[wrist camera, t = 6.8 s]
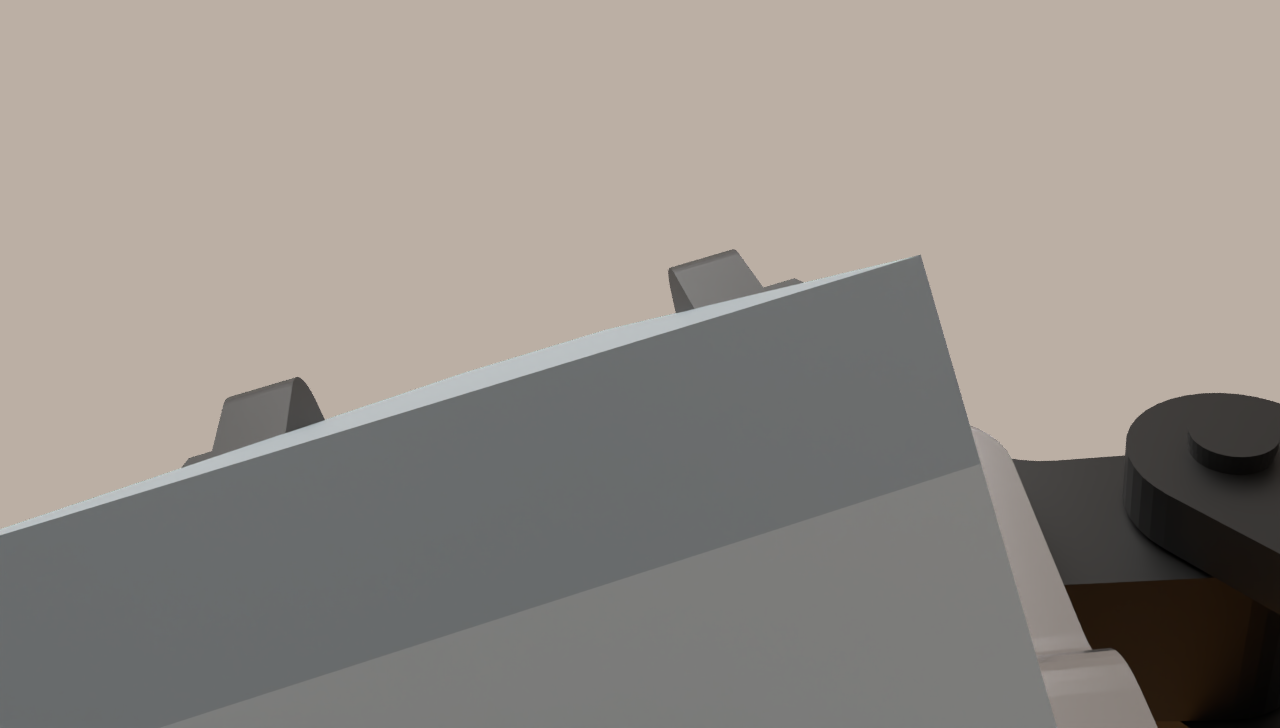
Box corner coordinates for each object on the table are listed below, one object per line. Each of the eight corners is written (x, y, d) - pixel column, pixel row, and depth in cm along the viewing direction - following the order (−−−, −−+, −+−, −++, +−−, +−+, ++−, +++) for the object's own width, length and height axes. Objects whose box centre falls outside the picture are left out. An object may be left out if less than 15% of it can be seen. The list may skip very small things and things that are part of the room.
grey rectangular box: (1161, 1088, 4) (919, 254, 4) (118, 1481, 4) (-188, 592, 3) (641, 445, 28) (606, 329, 28) (500, 489, 27) (464, 372, 27)
